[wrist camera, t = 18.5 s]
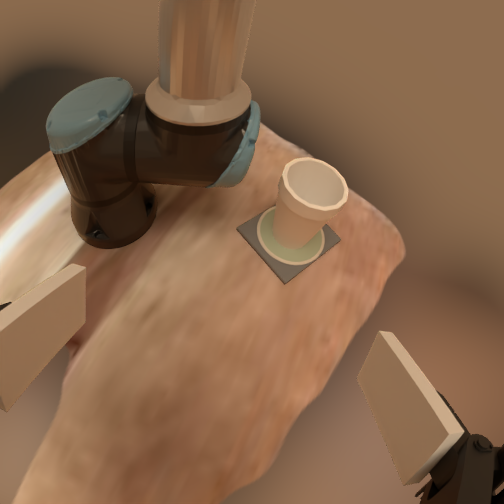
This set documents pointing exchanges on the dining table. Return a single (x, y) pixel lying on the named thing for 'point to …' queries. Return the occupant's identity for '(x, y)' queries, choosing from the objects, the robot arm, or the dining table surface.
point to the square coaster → (277, 256)
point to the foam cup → (306, 201)
